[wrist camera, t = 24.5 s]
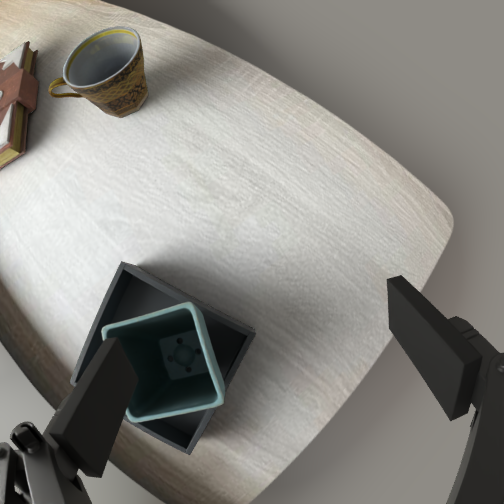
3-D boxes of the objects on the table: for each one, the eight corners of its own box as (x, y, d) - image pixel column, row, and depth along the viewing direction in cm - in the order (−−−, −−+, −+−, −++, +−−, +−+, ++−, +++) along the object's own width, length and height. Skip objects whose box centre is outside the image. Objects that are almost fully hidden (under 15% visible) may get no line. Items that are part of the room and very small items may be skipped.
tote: (255, 328, 34) (255, 333, 30) (196, 439, 32) (189, 455, 28) (135, 265, 35) (121, 261, 31) (86, 375, 33) (69, 382, 29)
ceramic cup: (152, 62, 39) (133, 15, 29) (167, 110, 38) (147, 63, 28) (73, 98, 38) (42, 60, 28) (79, 150, 37) (42, 115, 27)
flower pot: (136, 325, 34) (98, 327, 25) (211, 303, 34) (192, 299, 25) (160, 400, 32) (129, 424, 23) (235, 382, 32) (226, 404, 23)
